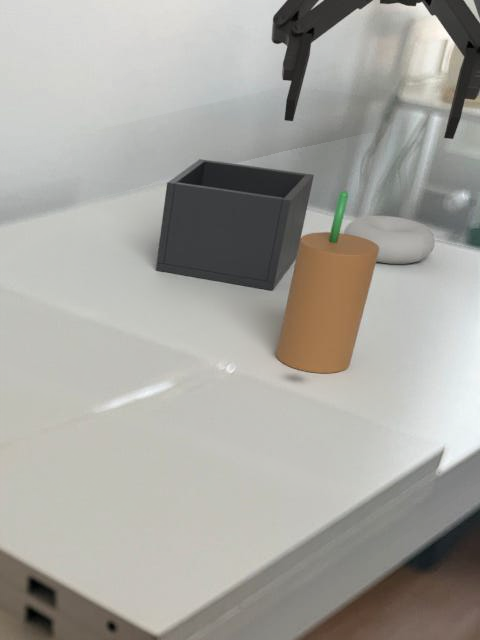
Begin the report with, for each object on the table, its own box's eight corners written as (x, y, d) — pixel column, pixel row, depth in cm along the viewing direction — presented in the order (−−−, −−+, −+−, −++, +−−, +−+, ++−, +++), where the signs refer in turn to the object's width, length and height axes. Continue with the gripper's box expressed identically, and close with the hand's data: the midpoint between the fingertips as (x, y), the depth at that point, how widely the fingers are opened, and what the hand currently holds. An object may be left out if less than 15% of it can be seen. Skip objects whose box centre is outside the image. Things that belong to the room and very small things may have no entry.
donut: (364, 237, 124) (324, 252, 118) (372, 207, 122) (331, 220, 116) (444, 257, 118) (406, 273, 112) (453, 226, 116) (415, 240, 110)
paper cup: (361, 359, 92) (404, 193, 83) (331, 379, 88) (373, 207, 79) (295, 340, 95) (331, 178, 86) (263, 359, 91) (297, 191, 82)
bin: (296, 258, 115) (314, 174, 110) (272, 290, 106) (290, 200, 101) (187, 240, 119) (199, 158, 114) (155, 270, 110) (166, 182, 104)
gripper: (559, -53, 92) (510, 163, 89) (277, -72, 98) (224, 130, 95) (589, -127, 85) (536, 106, 82) (283, -143, 90) (226, 74, 88)
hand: (369, 119), depth 89 cm, fingers open, 13 cm apart
